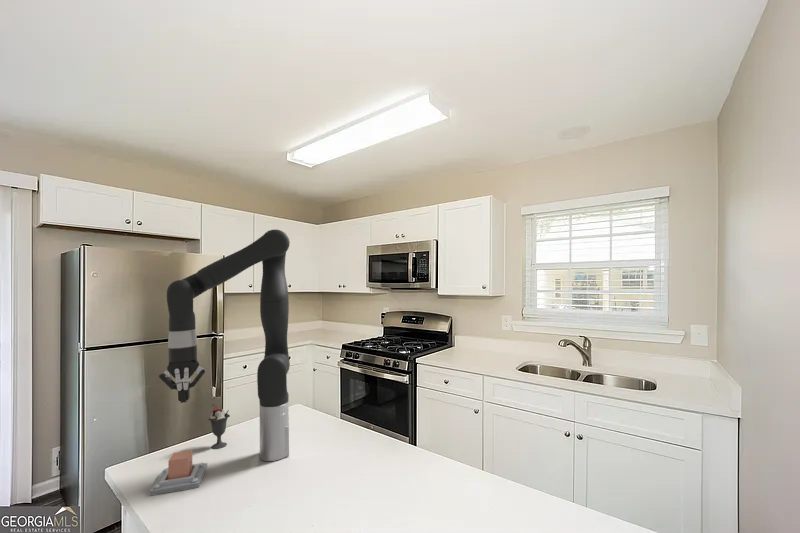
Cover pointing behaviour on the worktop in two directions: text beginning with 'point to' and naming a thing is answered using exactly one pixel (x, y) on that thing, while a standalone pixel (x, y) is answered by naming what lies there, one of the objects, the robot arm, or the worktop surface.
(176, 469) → the block
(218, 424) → the sundae
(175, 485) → the plate
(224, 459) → the worktop surface
